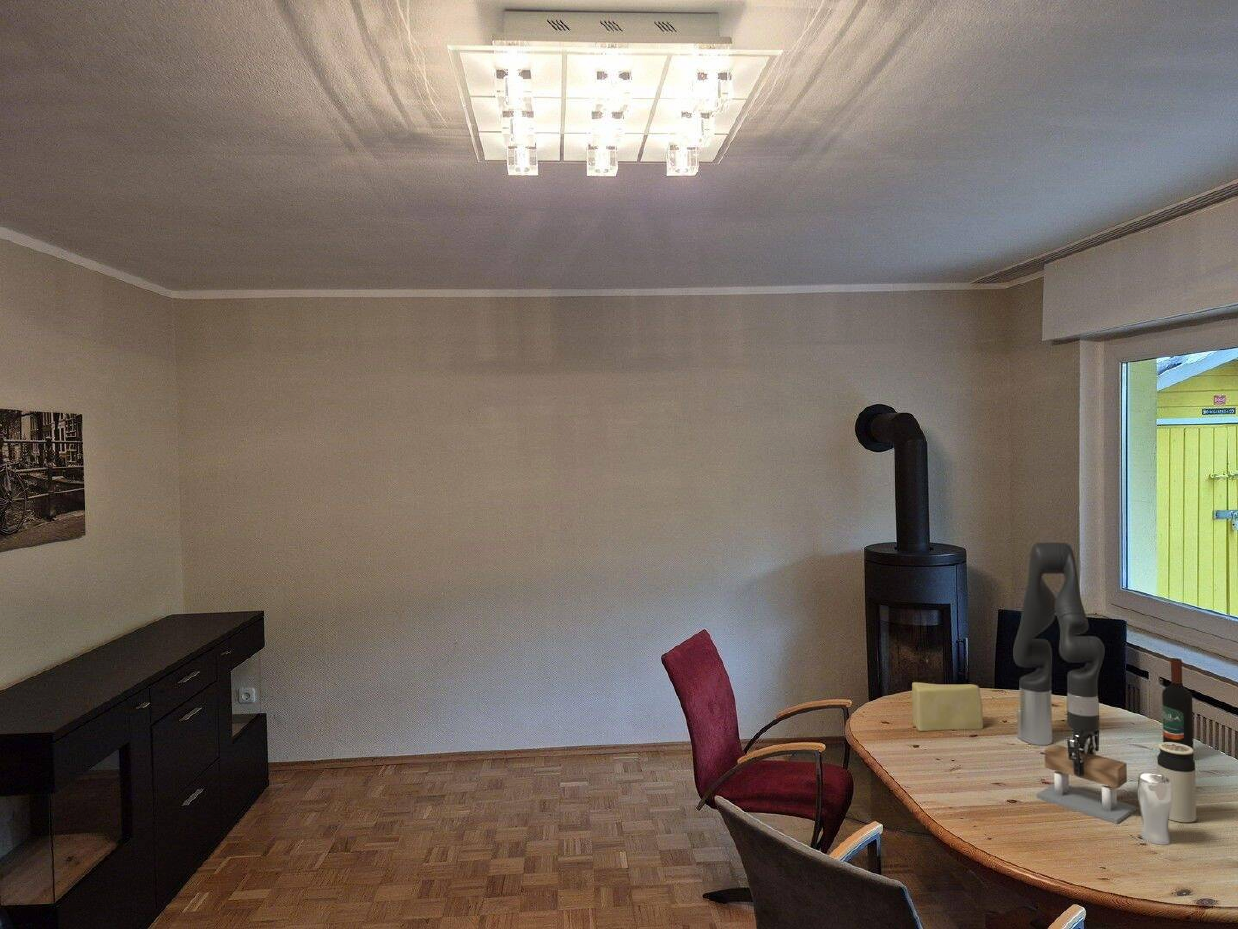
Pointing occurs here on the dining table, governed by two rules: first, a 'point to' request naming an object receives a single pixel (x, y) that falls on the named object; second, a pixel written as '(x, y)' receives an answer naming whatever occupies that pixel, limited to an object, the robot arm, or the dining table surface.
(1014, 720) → the dining table surface
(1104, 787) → the peg stand
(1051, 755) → the plank
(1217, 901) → the dining table surface
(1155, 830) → the beer glass
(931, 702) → the cheese
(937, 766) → the dining table surface
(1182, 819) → the travel mug
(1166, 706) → the wine bottle
